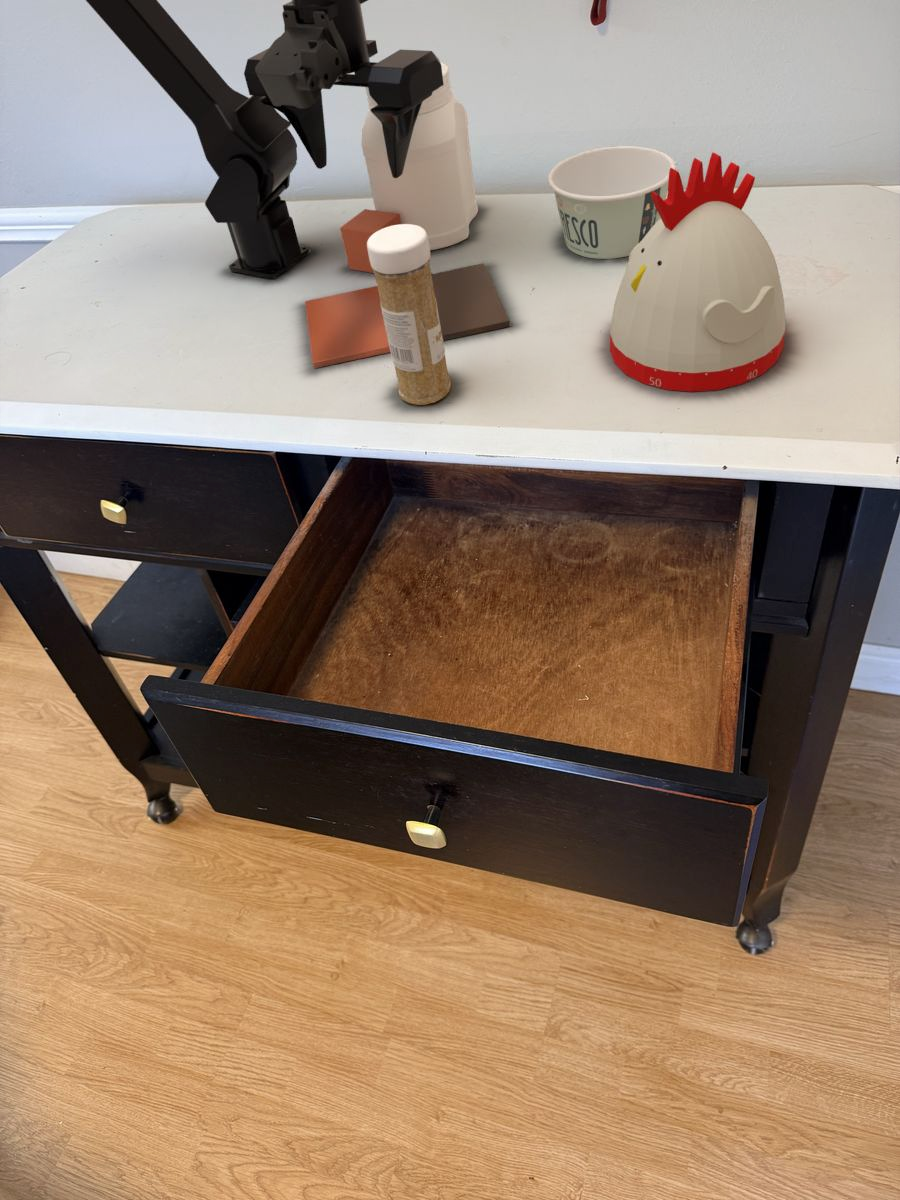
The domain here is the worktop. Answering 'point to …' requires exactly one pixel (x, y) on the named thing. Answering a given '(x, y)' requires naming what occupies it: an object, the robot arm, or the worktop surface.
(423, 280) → the sprinkles bottle
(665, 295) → the kitchen timer
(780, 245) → the worktop surface
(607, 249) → the food container
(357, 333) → the board
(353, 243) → the terracotta block
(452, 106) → the jar
